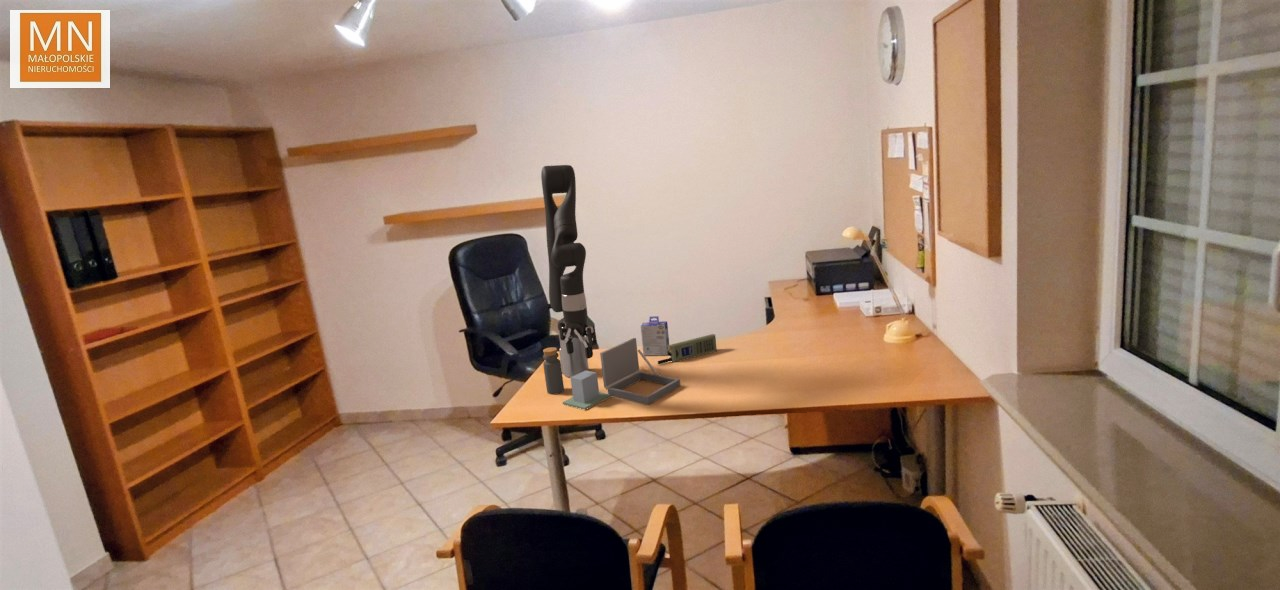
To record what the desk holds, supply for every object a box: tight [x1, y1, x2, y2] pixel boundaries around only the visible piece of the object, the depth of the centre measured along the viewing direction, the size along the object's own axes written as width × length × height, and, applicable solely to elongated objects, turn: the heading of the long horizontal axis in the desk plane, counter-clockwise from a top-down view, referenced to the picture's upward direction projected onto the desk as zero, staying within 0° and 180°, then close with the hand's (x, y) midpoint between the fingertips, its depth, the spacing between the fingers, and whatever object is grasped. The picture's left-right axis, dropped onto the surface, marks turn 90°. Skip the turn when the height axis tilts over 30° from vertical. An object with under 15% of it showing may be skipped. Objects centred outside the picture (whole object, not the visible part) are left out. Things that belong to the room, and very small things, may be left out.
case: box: [599, 337, 681, 406], centre depth 207 cm, size 18×18×14 cm
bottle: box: [542, 347, 565, 395], centre depth 214 cm, size 6×6×15 cm
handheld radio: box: [657, 333, 718, 365], centre depth 235 cm, size 7×3×25 cm
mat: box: [562, 391, 612, 410], centre depth 205 cm, size 10×12×1 cm
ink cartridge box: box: [640, 315, 670, 357], centre depth 243 cm, size 10×6×14 cm, turn 79°
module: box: [570, 370, 600, 404], centre depth 204 cm, size 5×7×8 cm
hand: (580, 355), depth 201 cm, fingers open, 8 cm apart
